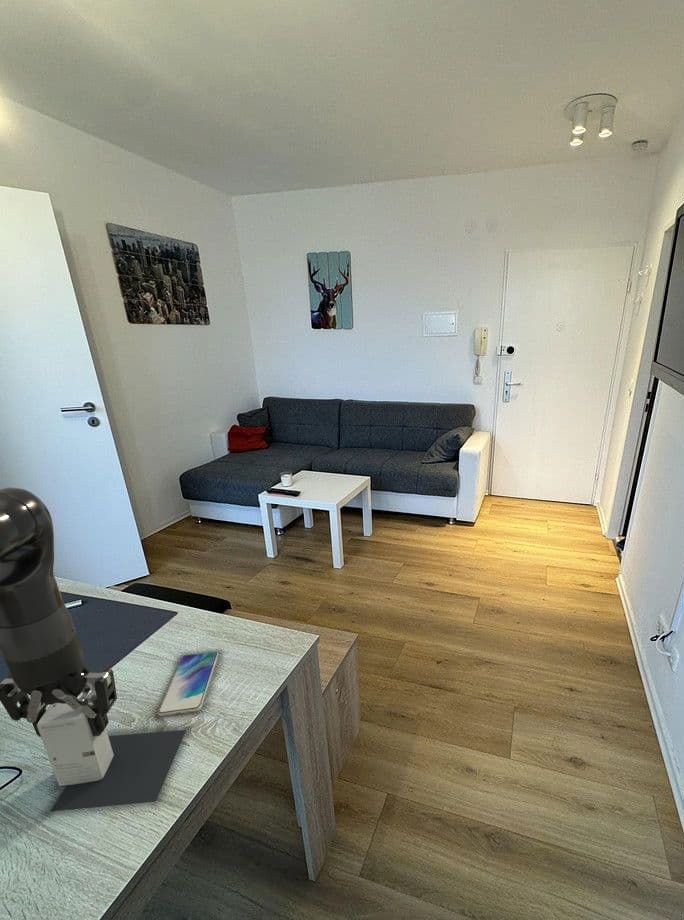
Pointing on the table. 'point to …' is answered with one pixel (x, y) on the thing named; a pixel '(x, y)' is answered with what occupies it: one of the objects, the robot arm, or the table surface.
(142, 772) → the mat
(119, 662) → the table surface
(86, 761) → the cosmetic box
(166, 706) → the smartphone
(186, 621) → the table surface
